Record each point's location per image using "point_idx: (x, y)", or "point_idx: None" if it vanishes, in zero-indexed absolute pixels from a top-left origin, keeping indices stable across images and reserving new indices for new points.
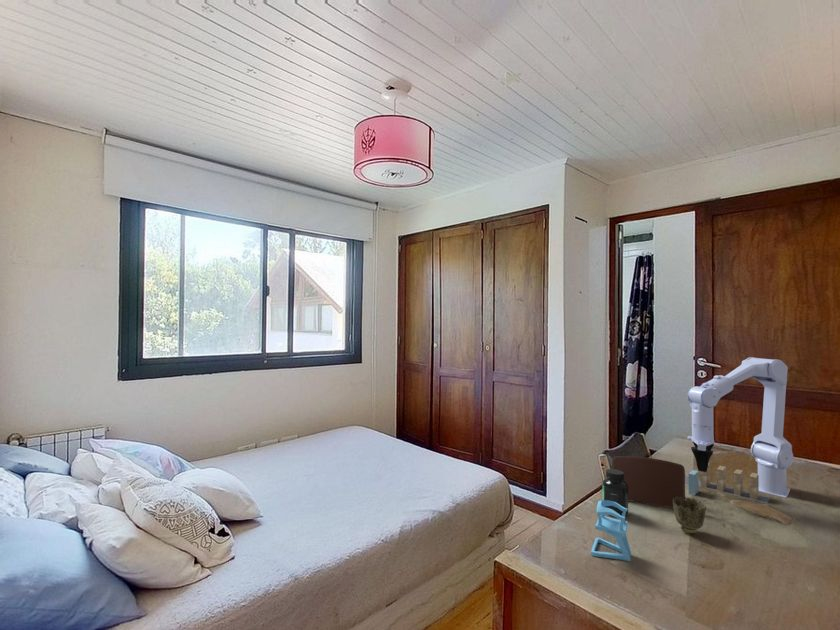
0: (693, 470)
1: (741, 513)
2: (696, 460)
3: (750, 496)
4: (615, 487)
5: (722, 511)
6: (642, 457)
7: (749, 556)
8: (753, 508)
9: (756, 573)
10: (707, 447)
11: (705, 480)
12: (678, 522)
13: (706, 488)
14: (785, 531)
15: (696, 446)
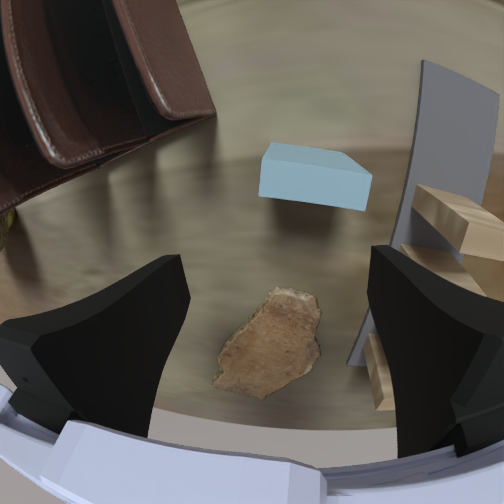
0: (363, 181)
1: (217, 313)
2: (105, 292)
3: (369, 340)
4: None
5: (185, 267)
6: None
7: (26, 305)
8: (259, 346)
9: (3, 306)
10: (410, 420)
11: (424, 214)
12: None
13: (401, 206)
14: (180, 376)
15: (443, 332)
